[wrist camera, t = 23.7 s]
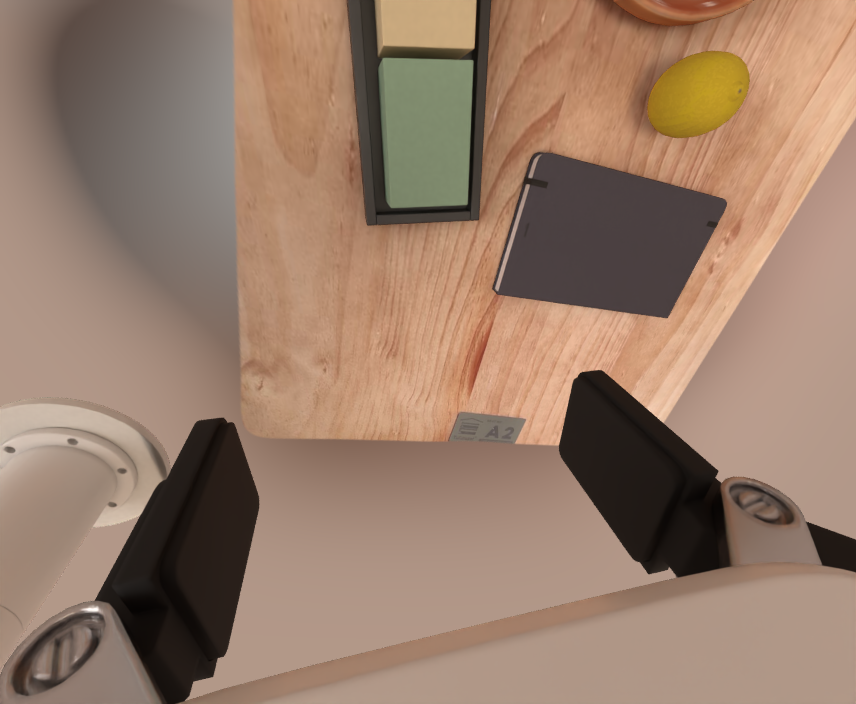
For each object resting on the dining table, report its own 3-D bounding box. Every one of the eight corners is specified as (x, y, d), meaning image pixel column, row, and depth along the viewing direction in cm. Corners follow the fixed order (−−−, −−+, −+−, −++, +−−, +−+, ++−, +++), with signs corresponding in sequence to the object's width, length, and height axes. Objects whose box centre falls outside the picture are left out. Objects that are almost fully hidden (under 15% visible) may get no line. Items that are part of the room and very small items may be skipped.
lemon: (648, 51, 30) (737, 24, 24) (697, 76, 32) (794, 58, 25) (615, 126, 33) (688, 122, 26) (663, 146, 34) (742, 148, 28)
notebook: (491, 289, 38) (657, 313, 44) (497, 294, 37) (667, 318, 42) (532, 149, 32) (716, 198, 38) (541, 150, 31) (730, 200, 37)
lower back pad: (385, 201, 31) (390, 208, 28) (377, 68, 27) (382, 57, 24) (454, 198, 32) (468, 205, 29) (457, 70, 28) (473, 59, 25)
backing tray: (365, 221, 32) (367, 225, 31) (332, -165, 22) (331, -191, 20) (472, 216, 34) (479, 220, 32) (489, -145, 23) (500, -168, 22)
